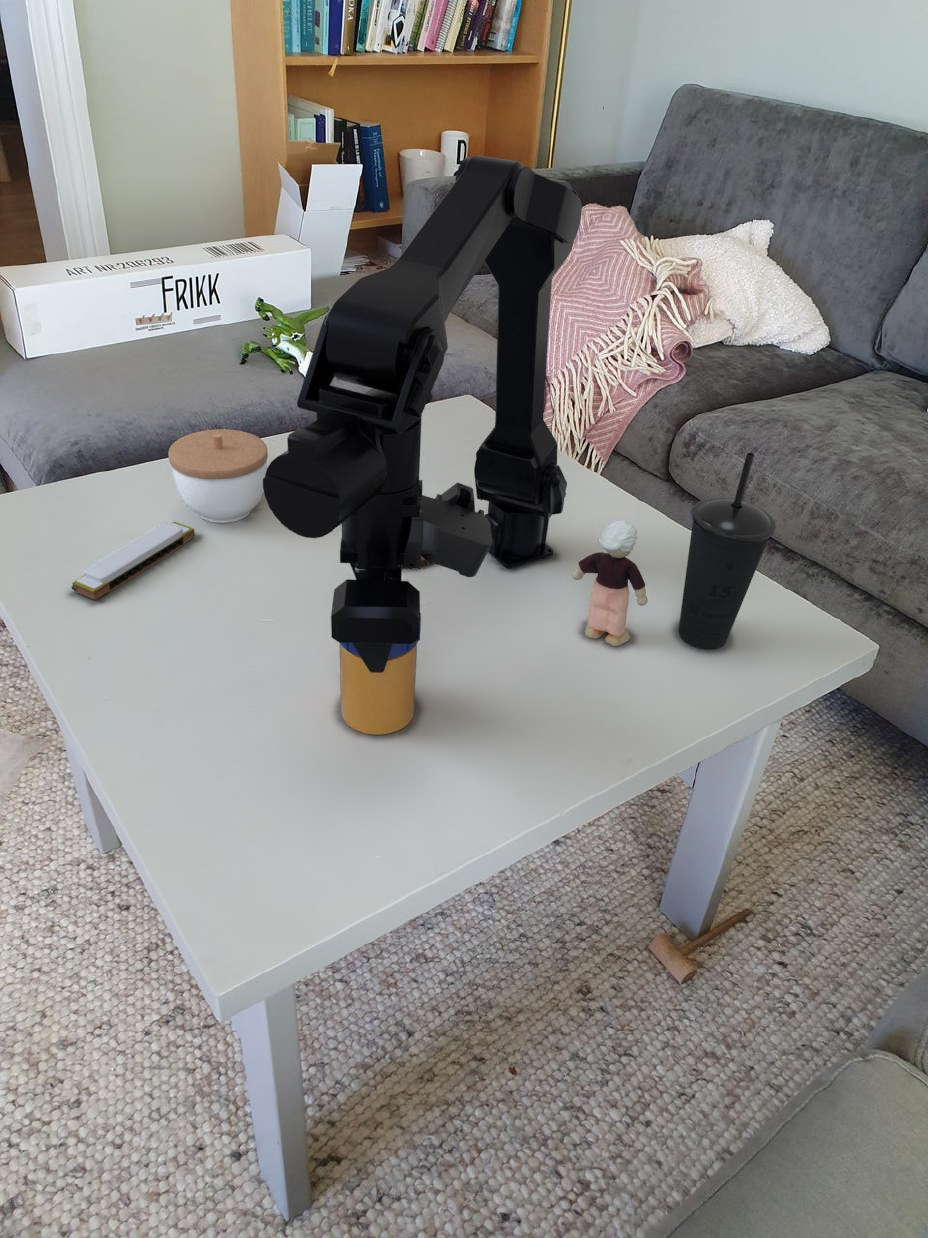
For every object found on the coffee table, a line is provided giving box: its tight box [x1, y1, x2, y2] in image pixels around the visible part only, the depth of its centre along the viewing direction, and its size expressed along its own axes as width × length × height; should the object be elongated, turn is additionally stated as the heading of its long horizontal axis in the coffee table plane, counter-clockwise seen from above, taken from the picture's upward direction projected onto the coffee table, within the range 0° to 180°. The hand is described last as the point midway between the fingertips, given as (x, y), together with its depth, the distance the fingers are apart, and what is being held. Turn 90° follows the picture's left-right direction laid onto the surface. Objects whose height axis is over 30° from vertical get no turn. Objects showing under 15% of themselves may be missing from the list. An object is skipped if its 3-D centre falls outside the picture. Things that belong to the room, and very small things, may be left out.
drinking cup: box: [677, 452, 777, 651], centre depth 86 cm, size 8×8×20 cm
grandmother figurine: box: [571, 520, 648, 647], centre depth 88 cm, size 8×4×13 cm, turn 71°
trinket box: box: [167, 428, 269, 524], centre depth 104 cm, size 11×11×9 cm
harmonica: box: [71, 521, 196, 600], centre depth 96 cm, size 15×3×2 cm, turn 152°
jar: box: [339, 643, 418, 736], centre depth 77 cm, size 6×6×10 cm
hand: (378, 645), depth 76 cm, fingers closed on lid, 7 cm apart
